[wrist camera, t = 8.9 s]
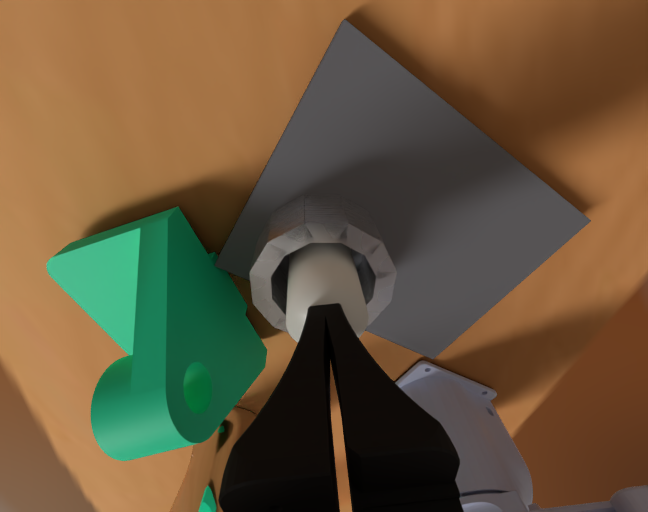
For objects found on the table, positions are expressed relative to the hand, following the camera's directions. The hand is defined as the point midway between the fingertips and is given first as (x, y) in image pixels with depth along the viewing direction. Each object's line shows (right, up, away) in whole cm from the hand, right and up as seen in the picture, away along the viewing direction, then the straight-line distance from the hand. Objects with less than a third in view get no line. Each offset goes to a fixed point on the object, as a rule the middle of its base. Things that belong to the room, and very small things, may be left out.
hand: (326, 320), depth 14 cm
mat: (+5, +4, +6) cm, 9 cm away
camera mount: (-10, 0, +8) cm, 12 cm away
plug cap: (0, +3, +5) cm, 6 cm away
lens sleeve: (0, +3, +5) cm, 6 cm away
